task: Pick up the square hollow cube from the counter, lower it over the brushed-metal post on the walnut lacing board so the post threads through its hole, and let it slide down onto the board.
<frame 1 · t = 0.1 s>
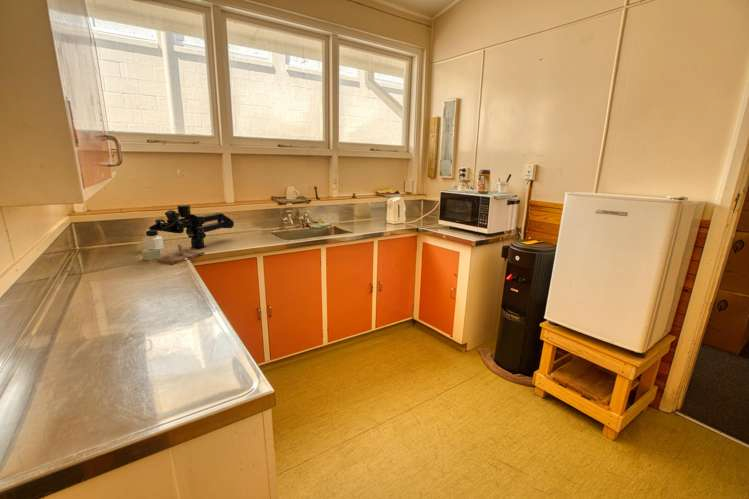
hand: (155, 229, 186), 17 cm above the counter, tool horizontal, fingers open, 9 cm apart
square hollow cube: (151, 258, 190), on the counter
medicine bottle: (154, 249, 208), on the counter
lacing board: (181, 257, 193), on the counter
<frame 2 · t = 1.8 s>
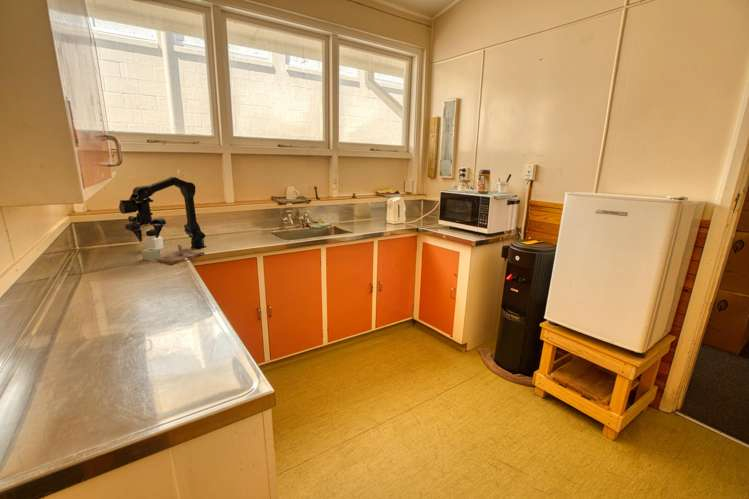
hand: (149, 239, 188), 11 cm above the counter, tool pointing down, fingers open, 9 cm apart
nothing on the counter moved.
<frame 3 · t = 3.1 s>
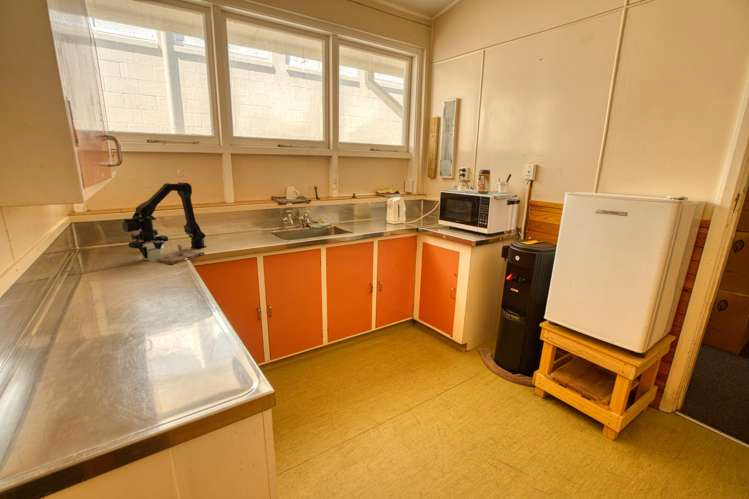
hand: (151, 256, 190), 1 cm above the counter, tool pointing down, fingers closed on square hollow cube, 6 cm apart
square hollow cube: (151, 258, 190), on the counter, touching gripper
everything else where it was.
when the fingers open (3 cm above the counter, at t = 8.4 s): square hollow cube stays where it is, resting on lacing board.
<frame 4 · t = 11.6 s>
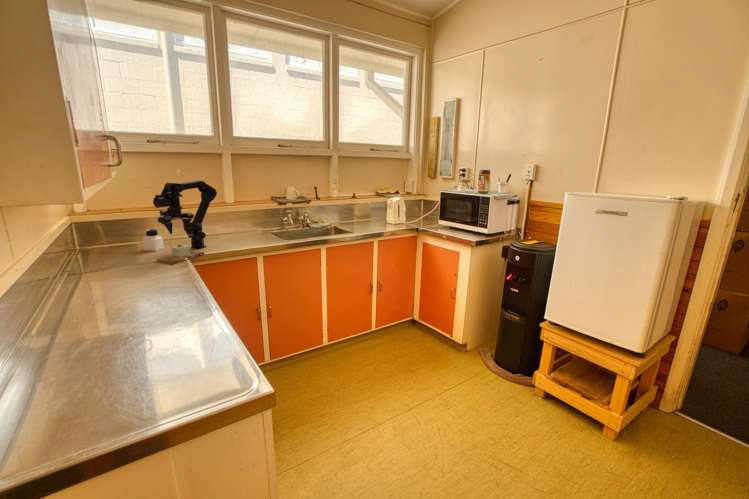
hand: (178, 232, 199), 12 cm above the counter, tool pointing down, fingers open, 9 cm apart
square hollow cube: (181, 255, 192), point 1 cm above the counter, touching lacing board
everything else where it was.
at the end: square hollow cube 0.1 cm off-centre on the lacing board, point 1.5 cm above the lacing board's base; square hollow cube tilted 0°; the gripper is holding nothing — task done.
